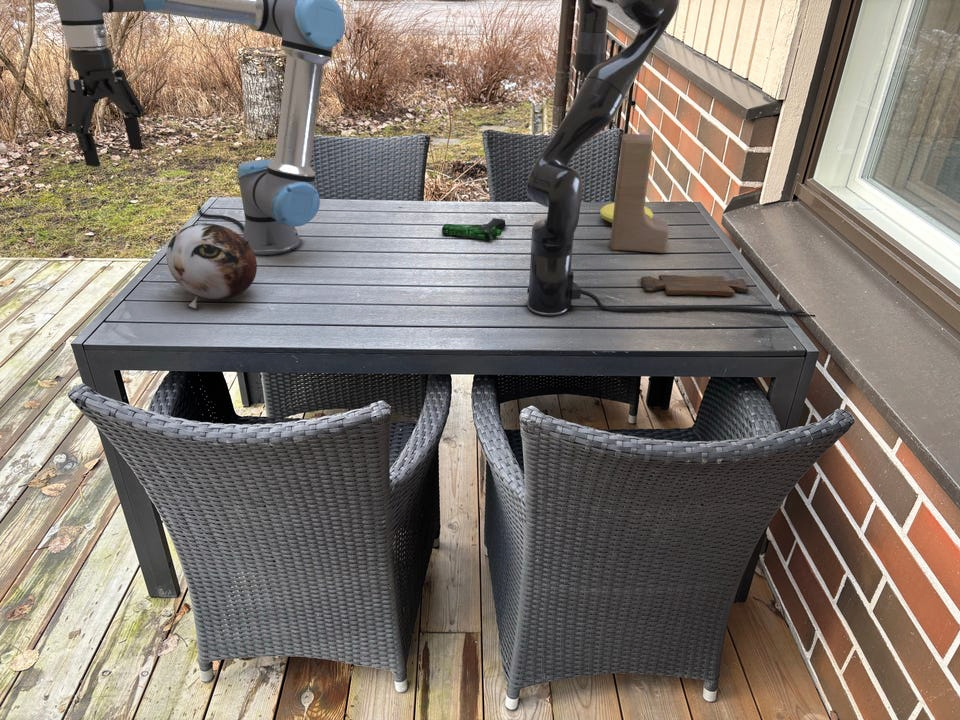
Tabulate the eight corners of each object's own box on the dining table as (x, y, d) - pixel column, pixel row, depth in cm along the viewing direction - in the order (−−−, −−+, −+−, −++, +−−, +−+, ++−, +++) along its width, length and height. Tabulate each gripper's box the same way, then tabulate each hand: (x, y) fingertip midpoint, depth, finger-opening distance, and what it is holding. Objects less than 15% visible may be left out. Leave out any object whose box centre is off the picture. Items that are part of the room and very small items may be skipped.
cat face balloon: (130, 285, 161) (164, 203, 163) (192, 308, 177) (221, 233, 178) (195, 307, 151) (229, 220, 152) (254, 330, 166) (285, 250, 168)
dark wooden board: (752, 298, 172) (740, 281, 181) (754, 292, 171) (742, 275, 180) (645, 295, 172) (638, 278, 181) (646, 288, 172) (639, 271, 180)
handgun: (511, 219, 210) (493, 234, 198) (511, 228, 211) (492, 244, 199) (461, 212, 215) (440, 226, 203) (461, 221, 217) (440, 236, 204)
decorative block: (666, 254, 195) (683, 142, 180) (610, 250, 197) (623, 139, 181) (663, 244, 201) (680, 135, 186) (610, 240, 203) (622, 132, 188)
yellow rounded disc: (613, 210, 226) (616, 188, 222) (660, 220, 218) (663, 198, 214) (589, 223, 215) (592, 200, 211) (638, 235, 207) (641, 211, 203)
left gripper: (58, 57, 128) (89, 174, 139) (146, 41, 149) (167, 144, 160) (23, 55, 130) (57, 171, 141) (115, 39, 151) (138, 141, 162)
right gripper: (602, 55, 175) (595, 127, 183) (608, 47, 186) (601, 115, 195) (572, 53, 176) (566, 125, 185) (579, 46, 188) (574, 113, 197)
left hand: (116, 157), depth 150 cm, fingers open, 13 cm apart
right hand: (584, 119), depth 190 cm, fingers closed on block, 4 cm apart
